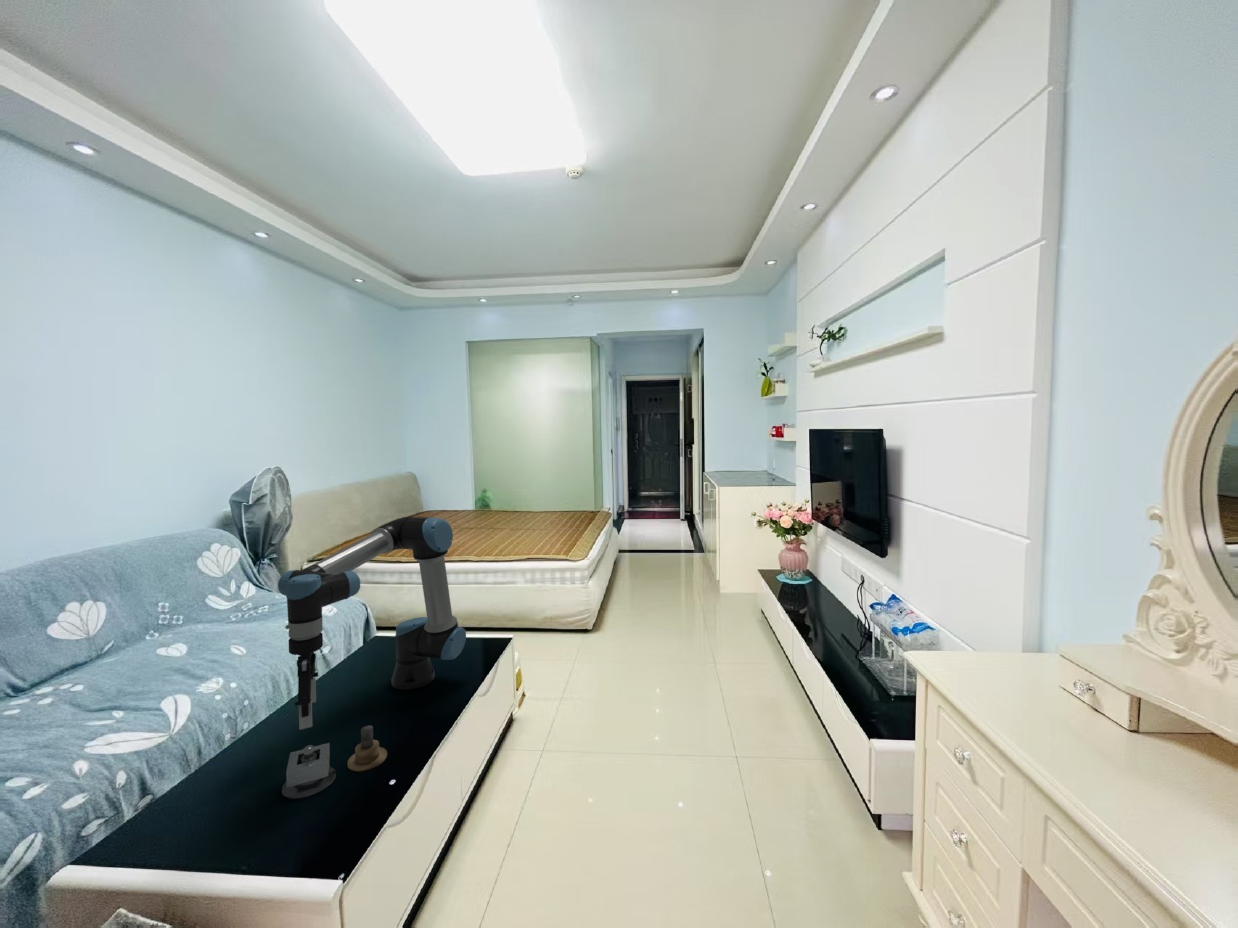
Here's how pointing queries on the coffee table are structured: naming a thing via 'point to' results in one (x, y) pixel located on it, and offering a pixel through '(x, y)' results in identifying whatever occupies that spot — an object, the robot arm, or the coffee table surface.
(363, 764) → the stand
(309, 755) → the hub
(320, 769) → the collar
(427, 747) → the coffee table surface
